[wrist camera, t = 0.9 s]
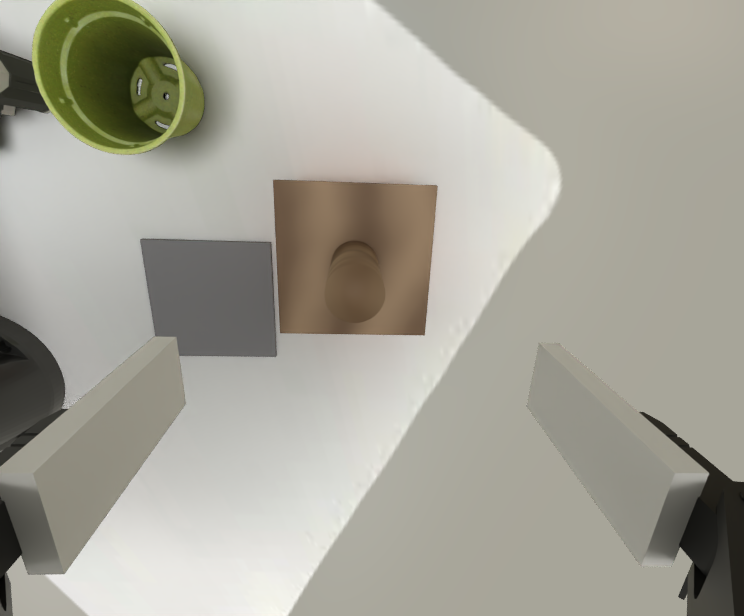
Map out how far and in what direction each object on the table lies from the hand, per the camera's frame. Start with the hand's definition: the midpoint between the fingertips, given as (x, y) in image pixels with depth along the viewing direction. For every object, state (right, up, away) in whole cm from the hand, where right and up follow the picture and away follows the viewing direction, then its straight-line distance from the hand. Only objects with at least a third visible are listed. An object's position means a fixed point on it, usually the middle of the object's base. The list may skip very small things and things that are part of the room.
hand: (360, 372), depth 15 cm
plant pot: (-17, +20, +19) cm, 33 cm away
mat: (-15, +3, +25) cm, 30 cm away
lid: (-1, +6, +17) cm, 18 cm away
